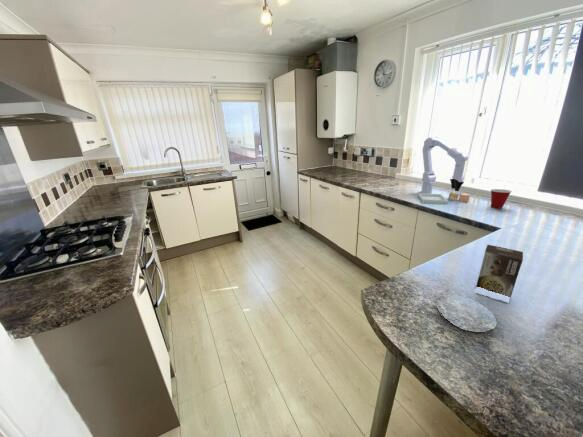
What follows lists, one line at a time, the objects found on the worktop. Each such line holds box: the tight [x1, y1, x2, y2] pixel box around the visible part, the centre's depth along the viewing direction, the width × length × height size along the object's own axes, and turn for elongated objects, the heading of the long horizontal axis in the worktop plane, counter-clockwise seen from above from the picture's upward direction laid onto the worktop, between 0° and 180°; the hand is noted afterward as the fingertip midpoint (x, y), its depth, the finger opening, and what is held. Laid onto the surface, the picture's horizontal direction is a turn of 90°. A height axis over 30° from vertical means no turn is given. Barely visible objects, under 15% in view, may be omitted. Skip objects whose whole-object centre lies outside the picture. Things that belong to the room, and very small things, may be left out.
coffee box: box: [475, 244, 524, 298], centre depth 79 cm, size 9×6×16 cm
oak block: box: [448, 191, 460, 201], centre depth 182 cm, size 4×4×5 cm
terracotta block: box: [458, 192, 470, 203], centre depth 178 cm, size 4×4×5 cm
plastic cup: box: [490, 188, 512, 210], centre depth 161 cm, size 11×11×12 cm
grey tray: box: [417, 192, 449, 205], centre depth 183 cm, size 18×16×2 cm
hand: (454, 189), depth 180 cm, fingers open, 7 cm apart
